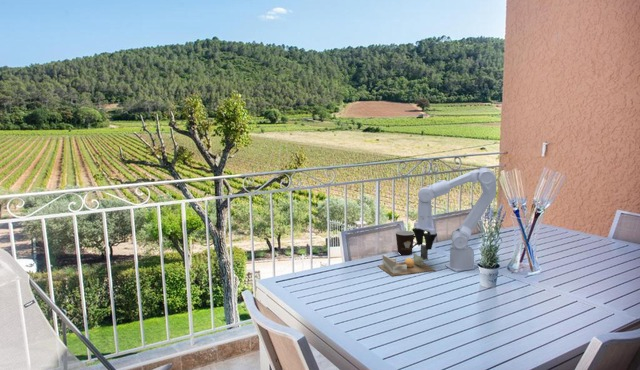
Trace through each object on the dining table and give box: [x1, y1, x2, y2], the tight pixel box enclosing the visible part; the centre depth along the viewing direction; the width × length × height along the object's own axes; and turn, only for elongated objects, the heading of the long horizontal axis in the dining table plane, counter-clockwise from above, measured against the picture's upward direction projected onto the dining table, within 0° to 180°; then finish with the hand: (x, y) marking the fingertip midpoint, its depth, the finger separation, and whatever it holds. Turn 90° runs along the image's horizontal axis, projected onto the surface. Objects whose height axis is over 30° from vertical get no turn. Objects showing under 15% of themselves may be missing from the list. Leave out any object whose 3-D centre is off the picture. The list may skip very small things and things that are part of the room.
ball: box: [404, 257, 414, 267], centre depth 204 cm, size 4×4×4 cm
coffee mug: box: [395, 230, 418, 257], centre depth 224 cm, size 12×9×10 cm
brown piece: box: [377, 254, 437, 277], centre depth 203 cm, size 20×14×6 cm
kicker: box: [413, 244, 429, 266], centre depth 205 cm, size 5×6×8 cm
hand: (424, 247), depth 205 cm, fingers open, 7 cm apart
